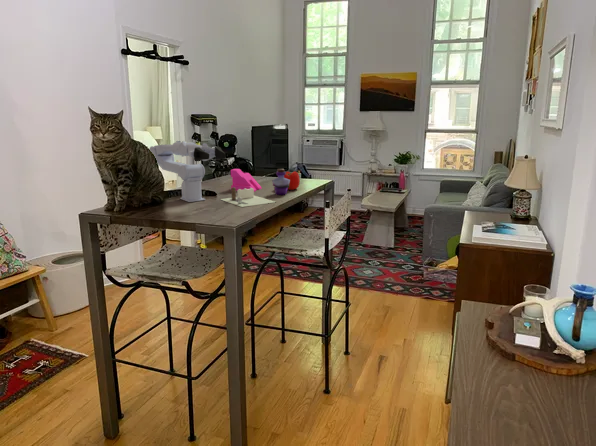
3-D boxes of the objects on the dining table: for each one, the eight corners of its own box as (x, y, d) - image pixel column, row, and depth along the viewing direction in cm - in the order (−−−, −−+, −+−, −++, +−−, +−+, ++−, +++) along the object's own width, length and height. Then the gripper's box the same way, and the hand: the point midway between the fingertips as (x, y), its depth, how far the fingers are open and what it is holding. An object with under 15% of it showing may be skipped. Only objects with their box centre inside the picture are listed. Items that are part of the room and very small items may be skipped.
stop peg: (237, 204, 190) (237, 197, 190) (240, 203, 191) (240, 197, 191) (239, 204, 189) (239, 198, 188) (242, 204, 190) (242, 197, 189)
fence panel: (238, 199, 198) (238, 189, 197) (237, 198, 199) (236, 189, 198) (253, 197, 203) (253, 188, 202) (252, 196, 204) (252, 187, 203)
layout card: (220, 199, 199) (220, 198, 199) (253, 195, 209) (253, 194, 209) (242, 207, 185) (242, 206, 185) (276, 202, 195) (276, 201, 194)
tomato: (301, 187, 232) (301, 170, 229) (295, 191, 220) (296, 173, 218) (281, 186, 234) (281, 169, 232) (275, 190, 223) (274, 172, 221)
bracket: (231, 190, 222) (230, 169, 220) (240, 187, 232) (239, 167, 229) (253, 192, 219) (253, 171, 216) (261, 188, 228) (261, 168, 226)
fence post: (230, 200, 198) (230, 187, 196) (234, 199, 199) (234, 186, 198) (232, 201, 196) (232, 187, 195) (236, 200, 198) (236, 187, 196)
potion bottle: (293, 194, 214) (294, 168, 211) (281, 196, 208) (281, 170, 205) (280, 191, 220) (280, 167, 217) (268, 194, 213) (267, 169, 210)
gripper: (183, 142, 182) (201, 146, 173) (213, 141, 192) (232, 145, 183) (183, 159, 184) (200, 164, 175) (213, 158, 194) (231, 163, 185)
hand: (216, 156), depth 179 cm, fingers open, 7 cm apart
